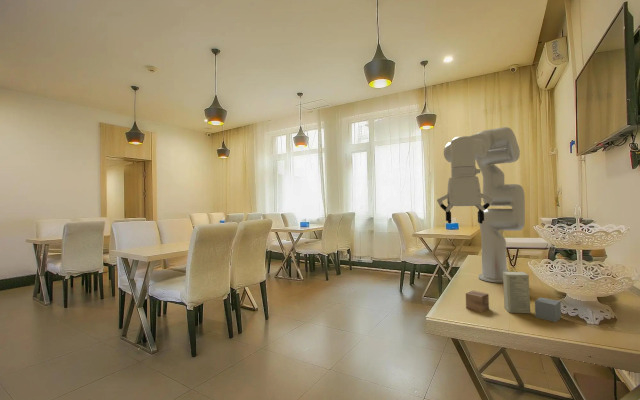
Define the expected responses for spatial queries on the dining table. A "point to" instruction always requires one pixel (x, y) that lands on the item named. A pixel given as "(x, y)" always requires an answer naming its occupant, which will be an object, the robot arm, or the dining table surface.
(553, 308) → the slate block
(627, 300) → the dining table surface
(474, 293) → the walnut block
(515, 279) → the skincare box
